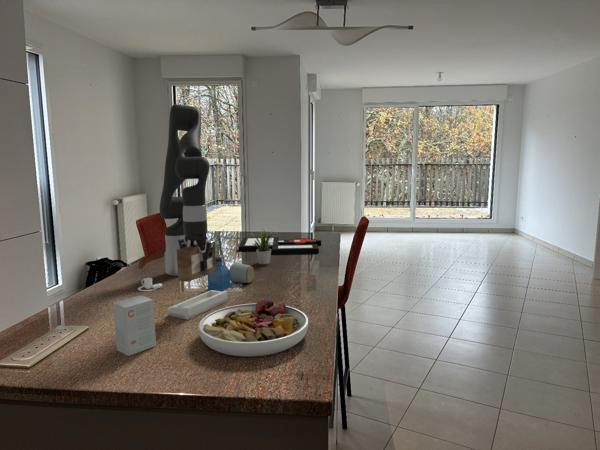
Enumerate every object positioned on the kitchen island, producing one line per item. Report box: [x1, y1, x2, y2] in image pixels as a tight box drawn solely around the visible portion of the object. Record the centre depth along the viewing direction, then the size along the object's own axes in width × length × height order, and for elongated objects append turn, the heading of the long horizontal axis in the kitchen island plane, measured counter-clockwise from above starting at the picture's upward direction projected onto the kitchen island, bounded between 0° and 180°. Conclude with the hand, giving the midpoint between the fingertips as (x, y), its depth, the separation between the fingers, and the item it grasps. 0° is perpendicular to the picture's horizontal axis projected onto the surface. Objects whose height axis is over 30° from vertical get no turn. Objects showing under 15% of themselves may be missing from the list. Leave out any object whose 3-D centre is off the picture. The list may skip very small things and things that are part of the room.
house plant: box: [250, 229, 279, 265], centre depth 208 cm, size 14×14×16 cm
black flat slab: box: [238, 236, 322, 255], centre depth 245 cm, size 36×3×45 cm
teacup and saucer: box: [137, 277, 163, 292], centre depth 171 cm, size 9×8×4 cm
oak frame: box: [177, 244, 217, 283], centre depth 145 cm, size 14×4×10 cm, turn 152°
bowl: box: [198, 296, 309, 358], centre depth 123 cm, size 30×30×8 cm
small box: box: [112, 295, 157, 357], centre depth 116 cm, size 8×6×13 cm
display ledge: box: [167, 290, 229, 320], centre depth 147 cm, size 8×20×4 cm, turn 152°
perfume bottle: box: [206, 256, 231, 292], centre depth 169 cm, size 6×6×12 cm
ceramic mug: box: [229, 262, 255, 284], centre depth 179 cm, size 11×8×8 cm
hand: (197, 270), depth 146 cm, fingers closed on oak frame, 4 cm apart
